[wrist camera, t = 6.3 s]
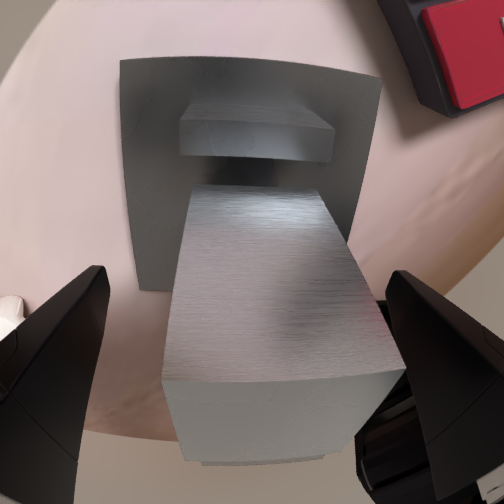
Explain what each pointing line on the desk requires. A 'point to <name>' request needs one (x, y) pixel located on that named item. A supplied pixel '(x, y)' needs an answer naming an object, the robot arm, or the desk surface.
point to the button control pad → (451, 50)
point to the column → (271, 331)
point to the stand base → (236, 140)
